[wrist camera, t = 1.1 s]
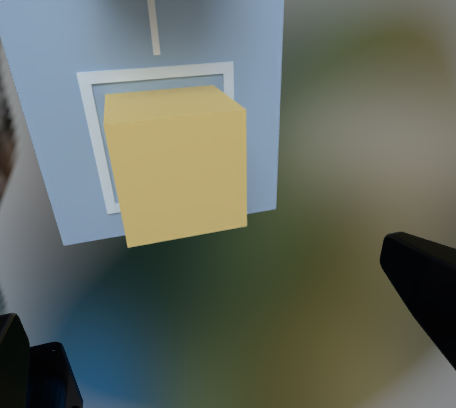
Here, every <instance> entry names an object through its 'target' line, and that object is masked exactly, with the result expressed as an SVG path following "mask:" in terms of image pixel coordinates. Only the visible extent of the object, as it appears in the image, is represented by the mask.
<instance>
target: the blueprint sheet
mask: <svg viewBox="0 0 456 408" xmlns="http://www.w3.org/2000/svg"><path fill="white" fill-rule="evenodd" d="M283 14H284V0H0V37H1V41H2V44H3V47H4V51H5V54H6V57H7V61H8V64H9V67H10V70H11V74H12V77H13V80H14V83H15V87H16V90H17V94H18V97H19V100H20V103H21V107H22V110H23V113H24V116H25V120H26V123H27V126H28V130H29V133H30V136H31V140H32V143H33V146H34V150H35V153H36V156H37V159H38V163H39V166H40V169H41V172H42V176H43V179H44V183H45V186H46V189H47V193H48V196H49V199H50V202H51V205H52V209H53V212H54V216H55V219H56V222H57V225H58V228H59V232H60V235H61V238H62V242H63V245H64V246H66V245H71V244H77V243H82V242H89V241H94V240H100V239H106V238H111V237H118V236H123V235H125V231H124V226H123V221H122V216H121V211H120V206H119V201H118V196H117V191H116V186H115V181H114V176H113V171H112V166H111V161H110V156H109V151H108V146H107V141H106V136H105V131H104V126H103V121H104V104H105V94H115V93H126V92H138V91H149V90H161V89H172V88H184V87H196V86H207V85H214V86H215V87H217V88H218V89H219V90H221V91H222V92H223V93H225V94H226V95H227V96H229V97H230V98H231V99H233V100H234V101H235V102H237V103H238V104H239V105H241V106H242V107H243V108H245V109H246V141H247V214H251V213H256V212H262V211H268V210H273V209H276V198H277V197H276V196H277V171H278V145H279V119H280V93H281V66H282V41H283Z"/></svg>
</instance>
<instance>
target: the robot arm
mask: <svg viewBox="0 0 456 408" xmlns="http://www.w3.org/2000/svg"><path fill="white" fill-rule="evenodd" d="M380 264H381V267H382V269H383V271H384V272H385V274H386V275H387V277H388V278H389V280H390V281H391V283H392V284H393V286H394V288H395V289H396V291H397V292H398V294H399V296H400V297H401V299H402V300H403V302H404V303H405V305H406V306H407V308H408V309H409V311H410V312H411V314H412V315H413V317H414V318H415V319H416V320H417V322H418V323H419V324H420V326H421V327H422V328H423V330H424V331H425V332H426V333H427V335H428V336H429V337H430V338H431V340H432V341H433V342H434V343H435V345H436V346H437V347H438V349H439V350H440V351H441V352H442V354H443V355H444V356H445V357H446V359H447V360H448V361H449V363H450V364H451V365H452V366H453V368H454V369H455V370H456V249H455V248H451V247H448V246H445V245H442V244H439V243H436V242H433V241H430V240H426V239H423V238H420V237H417V236H414V235H410V234H408V233H404V232H395V233H390V234H387V235H386V236H385V237H384V240H383V245H382V250H381V255H380ZM52 350H56V351H52ZM0 408H83V399H82V397H81V394H80V391H79V388H78V386H77V383H76V380H75V377H74V375H73V372H72V369H71V366H70V363H69V361H68V358H67V355H66V352H65V350H64V347H63V345H62V344H61V343H59V342H50V343H46V344H42V345H38V346H33V347H30V345H29V340H28V337H27V335H26V332H25V330H24V328H23V325H22V323H21V321H20V318H19V317H18V315H17V314H15V313H9V314H4V315H0Z"/></svg>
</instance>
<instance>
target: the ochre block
mask: <svg viewBox="0 0 456 408" xmlns="http://www.w3.org/2000/svg"><path fill="white" fill-rule="evenodd" d="M103 126H104V131H105V136H106V141H107V146H108V151H109V156H110V161H111V166H112V171H113V176H114V181H115V186H116V191H117V196H118V201H119V206H120V211H121V216H122V221H123V226H124V231H125V236H126V240H127V246H128V248H129V247H135V246H140V245H146V244H151V243H156V242H162V241H168V240H173V239H178V238H185V237H190V236H196V235H201V234H207V233H212V232H218V231H223V230H228V229H234V228H240V227H245V226H247V141H246V109H245V108H243V107H242V106H241V105H239V104H238V103H237V102H235V101H234V100H233V99H231V98H230V97H229V96H227V95H226V94H225V93H223V92H222V91H221V90H219V89H218V88H217V87H215V86H214V85H207V86H196V87H184V88H172V89H161V90H149V91H138V92H126V93H115V94H105V104H104V121H103Z"/></svg>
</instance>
